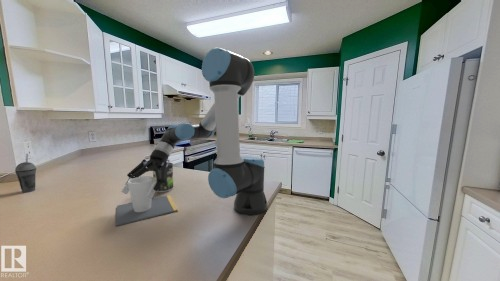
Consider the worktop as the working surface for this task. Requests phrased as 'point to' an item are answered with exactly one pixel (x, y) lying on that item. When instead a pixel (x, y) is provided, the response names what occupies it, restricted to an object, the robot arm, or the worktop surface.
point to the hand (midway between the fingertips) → (136, 195)
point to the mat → (157, 208)
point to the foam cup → (140, 192)
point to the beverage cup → (26, 176)
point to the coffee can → (169, 185)
